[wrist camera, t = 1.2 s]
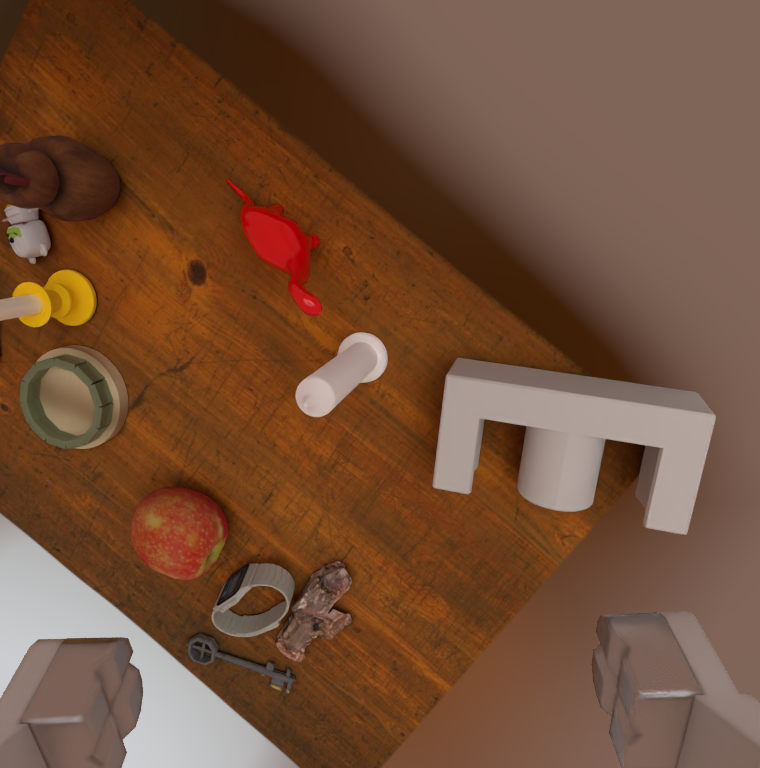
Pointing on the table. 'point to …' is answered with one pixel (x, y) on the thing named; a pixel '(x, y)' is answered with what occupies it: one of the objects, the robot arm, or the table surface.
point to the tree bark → (315, 612)
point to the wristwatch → (235, 591)
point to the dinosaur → (281, 247)
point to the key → (237, 661)
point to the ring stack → (74, 398)
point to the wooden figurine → (58, 178)
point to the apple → (179, 532)
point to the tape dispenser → (576, 436)
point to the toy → (27, 232)
